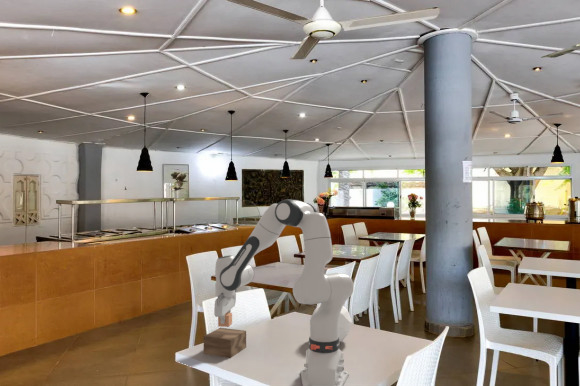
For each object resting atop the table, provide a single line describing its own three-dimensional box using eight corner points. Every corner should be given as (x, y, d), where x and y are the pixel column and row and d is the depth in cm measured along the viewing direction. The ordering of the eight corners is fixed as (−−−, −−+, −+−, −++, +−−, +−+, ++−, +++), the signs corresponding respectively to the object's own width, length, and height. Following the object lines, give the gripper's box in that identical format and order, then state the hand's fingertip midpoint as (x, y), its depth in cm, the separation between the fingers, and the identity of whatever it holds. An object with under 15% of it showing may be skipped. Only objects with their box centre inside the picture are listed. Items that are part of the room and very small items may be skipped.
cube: (228, 326, 194) (228, 315, 194) (218, 326, 194) (218, 315, 194) (232, 323, 198) (232, 312, 198) (221, 323, 199) (221, 312, 199)
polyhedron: (337, 352, 211) (357, 317, 216) (337, 351, 193) (360, 312, 198) (304, 330, 216) (325, 296, 222) (302, 327, 198) (324, 290, 203)
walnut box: (230, 358, 187) (230, 339, 187) (203, 354, 192) (203, 336, 192) (246, 348, 200) (246, 330, 200) (220, 344, 205) (220, 327, 205)
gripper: (224, 296, 186) (224, 328, 186) (238, 286, 206) (238, 315, 206) (210, 296, 187) (210, 327, 187) (225, 286, 207) (225, 315, 207)
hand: (225, 321), depth 196 cm, fingers closed on cube, 5 cm apart
